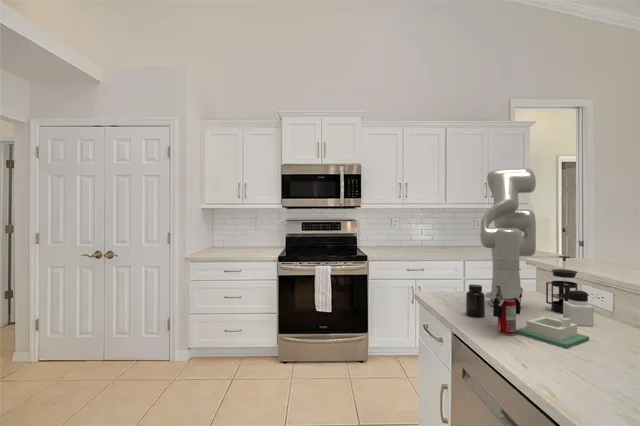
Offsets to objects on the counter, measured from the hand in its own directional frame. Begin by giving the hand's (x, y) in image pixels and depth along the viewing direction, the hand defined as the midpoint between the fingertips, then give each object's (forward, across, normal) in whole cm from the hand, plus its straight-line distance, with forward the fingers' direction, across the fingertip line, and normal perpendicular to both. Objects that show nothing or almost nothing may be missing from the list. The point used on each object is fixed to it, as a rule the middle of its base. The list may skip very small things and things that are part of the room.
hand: (506, 315), depth 125 cm
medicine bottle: (+6, -34, +7) cm, 35 cm away
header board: (+6, -10, +10) cm, 15 cm away
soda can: (+6, -1, 0) cm, 6 cm away
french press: (+6, -46, -4) cm, 46 cm away
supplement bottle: (+6, -10, -19) cm, 22 cm away
